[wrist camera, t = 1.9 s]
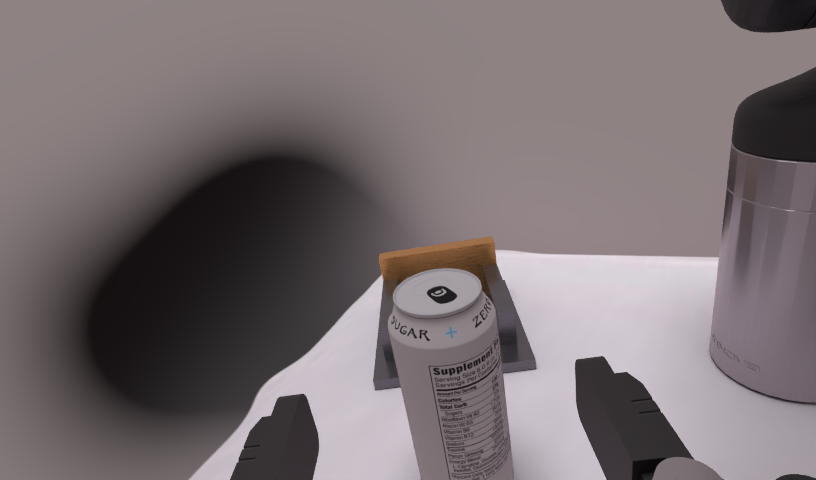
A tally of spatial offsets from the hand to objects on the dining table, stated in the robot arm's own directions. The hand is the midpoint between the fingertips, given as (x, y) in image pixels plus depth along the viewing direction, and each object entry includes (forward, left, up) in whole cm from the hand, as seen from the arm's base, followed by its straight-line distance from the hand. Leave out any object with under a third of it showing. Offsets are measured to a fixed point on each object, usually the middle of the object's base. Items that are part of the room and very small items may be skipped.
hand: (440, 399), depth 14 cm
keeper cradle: (-5, -28, -18) cm, 34 cm away
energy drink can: (-2, -11, -18) cm, 21 cm away
